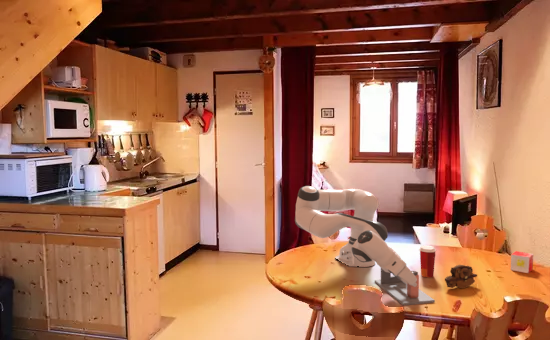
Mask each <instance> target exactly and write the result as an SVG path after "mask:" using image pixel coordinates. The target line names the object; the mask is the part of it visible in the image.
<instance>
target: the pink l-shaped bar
mask: <svg viewBox="0 0 550 340" xmlns="http://www.w3.org/2000/svg"><path fill="white" fill-rule="evenodd" d="M410 271H411V272H412V273H413V274H414V275H415V276H416V278H417V281H416V283H417V286H416V287H413V286H411V285H410V284H408V283H407V282H406V281H404V280H403V279H401V278H400V277H398V276H397V275H394V274H392V276H395V277H396V278H398V279H399V280H400V281H402V282H403V283H405V284H406V285H407V295H408V296H409V297H410V298H417V297H419V289H420V288H419V287H420V275H419V272H418V271H416V270H410Z"/></svg>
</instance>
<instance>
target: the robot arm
mask: <svg viewBox="0 0 550 340" xmlns="http://www.w3.org/2000/svg"><path fill="white" fill-rule="evenodd" d="M378 208H379V199H378V198H377V197H376V196H375V194H373V193H372V192H370V191H366V190H364V189H362V188H361V189H360V188H347V189H317V188H316V187H314V186H310V185H305V186H302V187H300V188H299V190H298V193H297V198H296V203H295V216H294V222H295V225H296V226H297V228H300V229H301V230H304V231H306V232H307V233H308V234H309V233H310V235H313V236H315V237H317V238H320V239H326V238H330V237H331V236H333V235H335V234H336V233H338V232H339V231H340V230H342V229H345V228H350V236H346V238H347V240H348V242H347V243H346V244H345V245H343V246H342V247H340V249H339V254H338V255H336V256H335V257H334V259H335V258H336V259H338V260H339V261H341V262H343V263H345V264H346V266H347V265H349V266H348V267H357V266H359V268H366V267H367V268H368V267H372V266H374V265H376V264H377V266H379V267H380V269H381V268H382V269H383V270H384V271H385V272H389V273H391V275H393V274H394V275H397V276H398V277H400V278H401V279H403V280H404V281H406V282H407V283H408V284H410V285H411V286H413V287H416V286H417V283H416V281H417V278H416V276H415V275H414V274H413V273H412V272H411V271H412V270H410V268H409V267H408V266H407V263H406V261H405V260H403V259H402V258H401V256H400V254H398V253H397V252H396V251H395V250H394V249H393V248H392V247H390V246H389V245H388V243H387V242H386V240H387V239H388V235H389V233H388V229H387V227H386V226H385V225H384V224H383V223H381V222H379V221H376V220H374V218H375V214H376V211H377V209H378ZM346 210H347V211H348V210H353V211H354V214H353V215H350V214H347V213H342V212H343V211H346ZM324 212H336V213H331V214H330V213H324ZM336 259H335V260H336ZM339 261H338V262H339ZM341 262H340V263H341ZM343 263H342V264H343ZM345 264H344V265H345Z"/></svg>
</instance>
